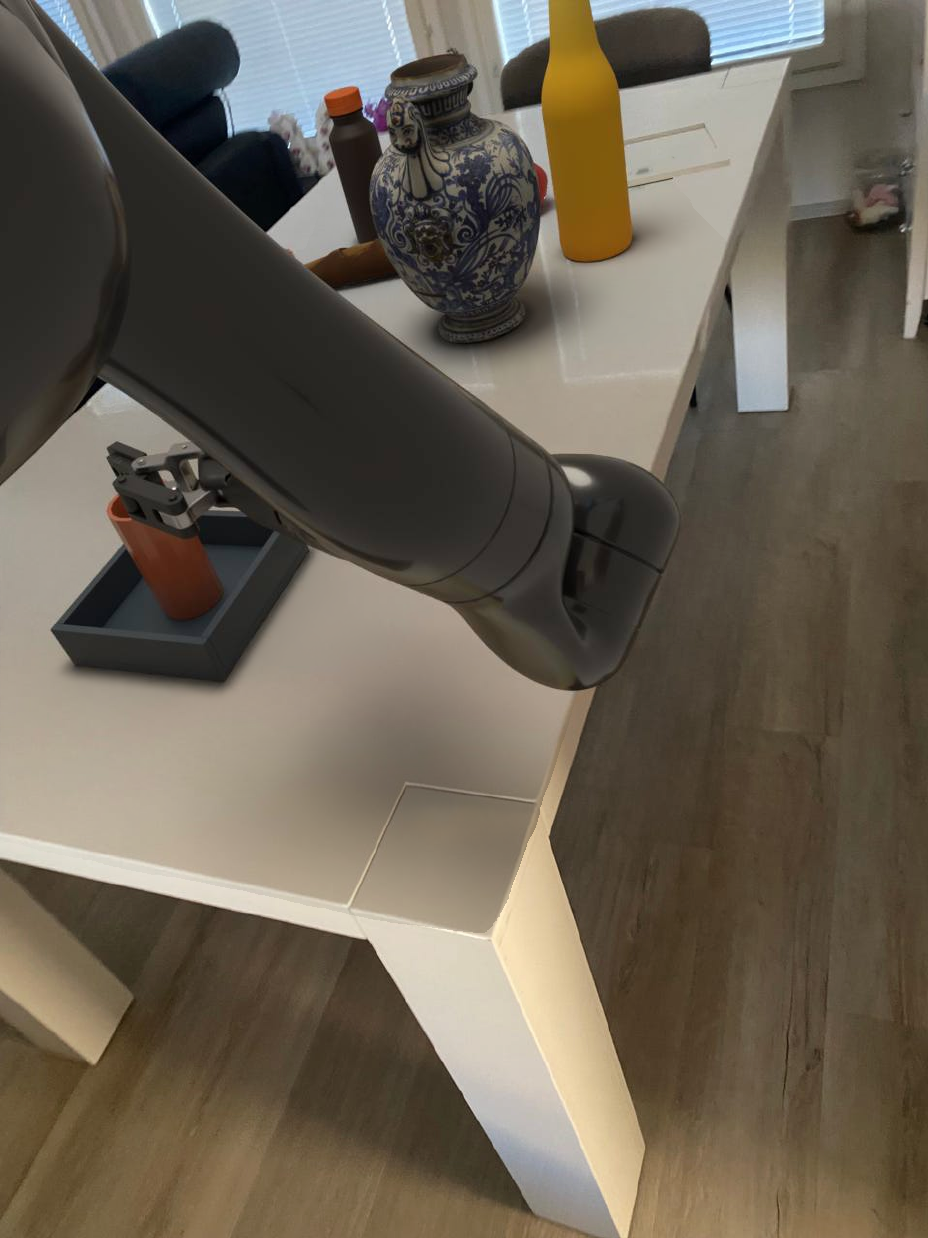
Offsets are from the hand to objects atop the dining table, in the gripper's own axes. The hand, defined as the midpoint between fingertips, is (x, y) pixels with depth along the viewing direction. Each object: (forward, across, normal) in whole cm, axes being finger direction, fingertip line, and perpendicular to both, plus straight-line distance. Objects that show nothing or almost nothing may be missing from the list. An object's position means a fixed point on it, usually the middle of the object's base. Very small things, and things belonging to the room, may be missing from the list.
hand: (169, 422), depth 62 cm
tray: (+14, -1, +23) cm, 27 cm away
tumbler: (+13, -1, +22) cm, 26 cm away
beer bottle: (+20, -74, +22) cm, 80 cm away
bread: (+46, -59, +23) cm, 78 cm away
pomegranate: (+39, -81, +22) cm, 93 cm away
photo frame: (+28, -103, +22) cm, 109 cm away
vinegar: (+56, -69, +23) cm, 92 cm away
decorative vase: (+22, -52, +23) cm, 61 cm away
